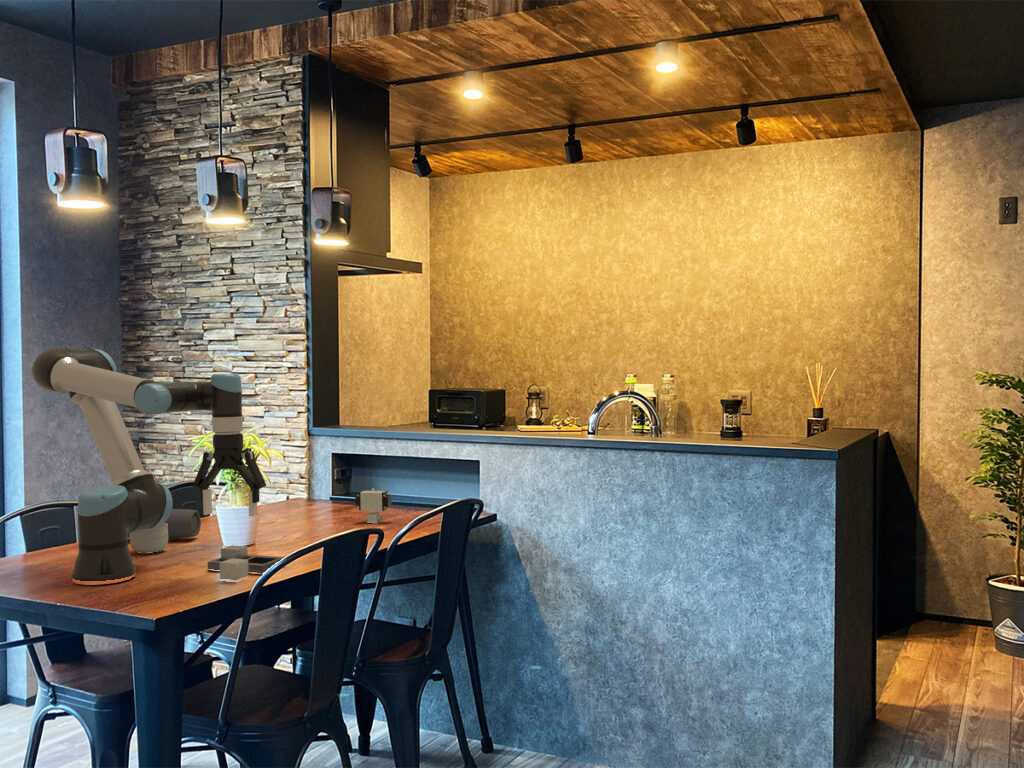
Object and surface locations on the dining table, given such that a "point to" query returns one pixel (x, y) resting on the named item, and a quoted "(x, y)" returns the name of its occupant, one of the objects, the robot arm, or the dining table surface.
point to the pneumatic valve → (373, 504)
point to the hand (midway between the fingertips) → (230, 515)
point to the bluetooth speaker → (183, 523)
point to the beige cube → (234, 569)
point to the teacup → (150, 539)
